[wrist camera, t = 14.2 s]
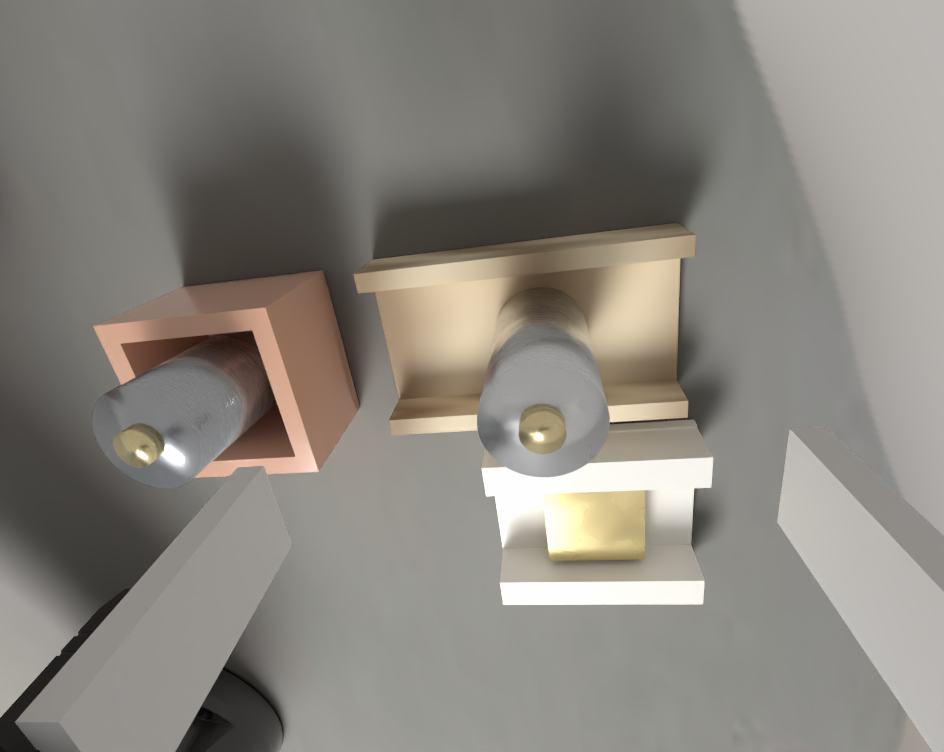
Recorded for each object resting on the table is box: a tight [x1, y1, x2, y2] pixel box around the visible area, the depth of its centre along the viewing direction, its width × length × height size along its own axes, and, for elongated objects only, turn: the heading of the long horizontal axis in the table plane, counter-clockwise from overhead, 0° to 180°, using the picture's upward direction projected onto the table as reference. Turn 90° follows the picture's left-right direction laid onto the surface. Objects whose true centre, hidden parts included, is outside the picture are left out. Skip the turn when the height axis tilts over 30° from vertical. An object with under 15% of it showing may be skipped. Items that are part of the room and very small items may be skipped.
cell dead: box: [92, 330, 277, 489], centre depth 21 cm, size 4×4×9 cm
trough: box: [353, 223, 696, 435], centre depth 22 cm, size 13×8×3 cm, turn 98°
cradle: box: [482, 420, 713, 605], centre depth 26 cm, size 10×9×3 cm
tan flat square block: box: [543, 490, 645, 561], centre depth 26 cm, size 5×5×1 cm
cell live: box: [477, 287, 610, 477], centre depth 19 cm, size 4×4×9 cm
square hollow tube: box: [93, 270, 360, 478], centre depth 23 cm, size 7×7×6 cm
